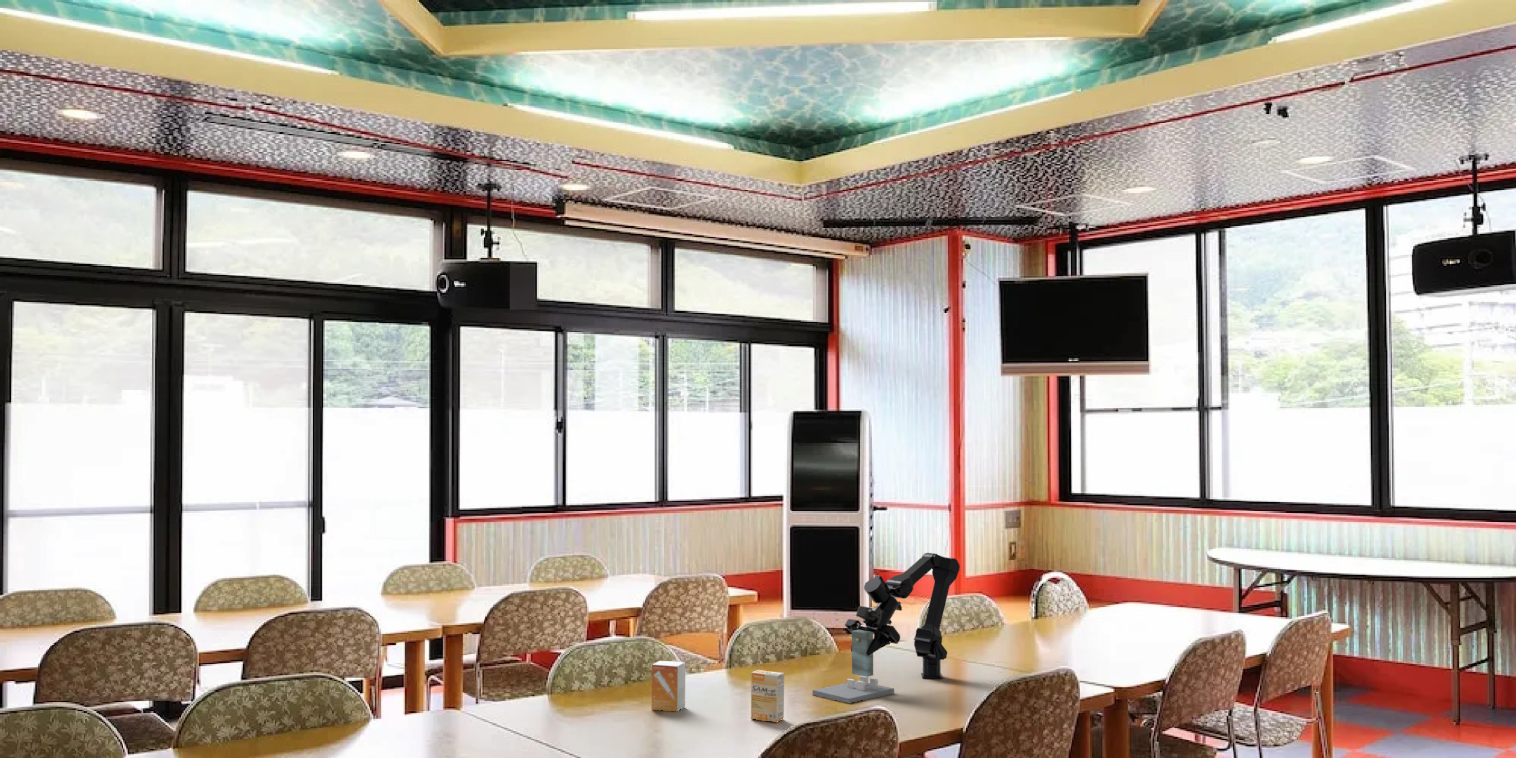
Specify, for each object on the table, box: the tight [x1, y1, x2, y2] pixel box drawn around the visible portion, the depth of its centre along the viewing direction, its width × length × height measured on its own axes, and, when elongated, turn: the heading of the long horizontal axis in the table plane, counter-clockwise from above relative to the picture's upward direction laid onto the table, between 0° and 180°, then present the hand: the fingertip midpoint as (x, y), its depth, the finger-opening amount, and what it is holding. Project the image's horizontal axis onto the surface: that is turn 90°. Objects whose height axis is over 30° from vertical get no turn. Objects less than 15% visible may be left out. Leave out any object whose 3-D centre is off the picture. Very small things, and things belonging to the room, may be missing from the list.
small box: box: [651, 660, 686, 712], centre depth 334 cm, size 8×6×13 cm
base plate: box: [812, 675, 895, 704], centre depth 352 cm, size 20×15×4 cm
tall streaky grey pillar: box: [851, 630, 874, 678], centre depth 355 cm, size 4×6×13 cm, turn 42°
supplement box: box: [750, 669, 785, 723], centre depth 321 cm, size 8×5×13 cm, turn 62°
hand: (859, 653), depth 354 cm, fingers closed on tall streaky grey pillar, 6 cm apart
